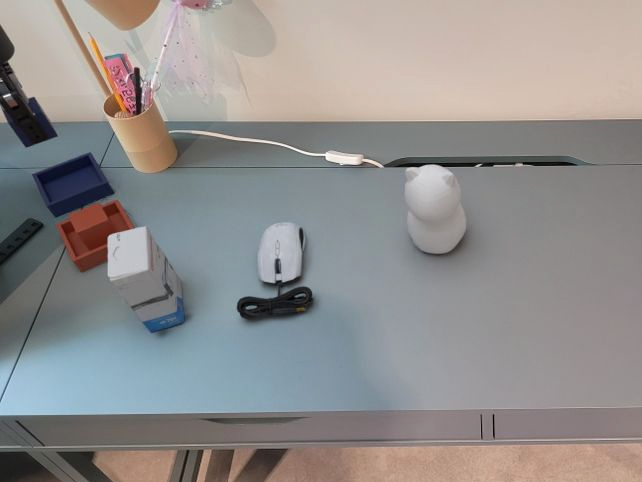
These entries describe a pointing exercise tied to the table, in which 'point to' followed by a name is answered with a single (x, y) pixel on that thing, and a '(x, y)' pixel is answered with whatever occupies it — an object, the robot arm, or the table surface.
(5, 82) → the robot arm
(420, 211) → the cat figurine
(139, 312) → the ink box
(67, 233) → the terracotta tray
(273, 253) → the computer mouse
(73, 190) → the navy tray
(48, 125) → the navy block
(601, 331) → the table surface
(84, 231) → the terracotta block
